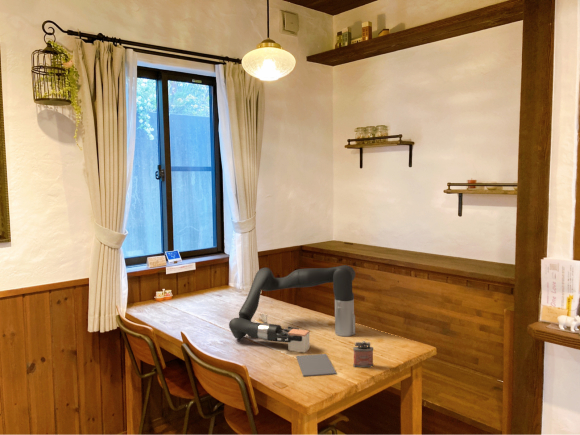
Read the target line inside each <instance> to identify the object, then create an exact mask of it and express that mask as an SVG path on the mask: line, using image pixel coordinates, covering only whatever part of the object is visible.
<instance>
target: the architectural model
mask: <svg viewBox="0 0 580 435" xmlns="http://www.w3.org/2000/svg"><path fill="white" fill-rule="evenodd" d="M260 317H261V318H260ZM260 317H258V319H255V320H254V321H255V323H267V324H268V314H265V313H264V312H261V313H260Z"/></svg>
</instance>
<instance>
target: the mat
mask: <svg viewBox="0 0 580 435" xmlns="http://www.w3.org/2000/svg"><path fill="white" fill-rule="evenodd" d="M295 357H296V360H297V363H298V365H299V368H300V370H301V373H302V377H316V376H326V375H327V376H329V375H337V372H336V370H335V367H334V366H333V364H332V362H331V360H330V359H329V357H328V355H327V353H319V354H318V353H317V354H306V355H304V354H303V355H296V356H295Z"/></svg>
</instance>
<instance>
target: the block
mask: <svg viewBox="0 0 580 435" xmlns="http://www.w3.org/2000/svg"><path fill="white" fill-rule="evenodd" d="M288 333H289V334H290V335H293V336H294V335H296V336H302V341H294V340H293V341H291V342H287V346H288V348H287V349H288V351H291V352H299V353H307V352H308V350H309V349H310V344H311V343H310V330H308V329H307V330H305V329H300V328H299V329H292V330H291V331H290V332H288Z"/></svg>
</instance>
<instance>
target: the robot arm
mask: <svg viewBox="0 0 580 435" xmlns="http://www.w3.org/2000/svg"><path fill="white" fill-rule="evenodd" d="M355 277H356V271H355V269H354V268H353V267H352V266H350V265H347V264H343V265H339V266H333V267H327V268H325V267H323V268H322V267H320V268H319V267H314V268H299V269H296V270H293V271H292V272H290V273H289V274H288V275H286V276H283V277H275V275H274V273H273V272H272V269H270V267H262V268H260V269H259V270H258V271H256V273H255V275H254V278H253V281H252V284H251V287H250V289H249V291H248V295H247V296H246V298H245V301H244V302H243V304H242V306H241V308H240V310H239V312H238V317H234V318H232V319H231V320H229V322H228V328H229V329H230V332H231V333H232V336H233V337H234V338H235V339H237V340H241V339H244V338H245V337H246V336H248V337H250V338H252V339H258V340H263V341H268V342H269V341H270V342H276V343H277V342H279V343H288V342H291V341H293V340H294V341H302V336H296V335H294V336H293V335H290V334H289V333H288V332H290V331H291V330H292V329H299V330H300V328H298V327H294V326H293V327H292V326H288V327H287V328H282V326H281V325H280V324H274V323H268V322H267V323H258V322H254V321H252V320H253V317H254V316H255V314H256V311H257V310H258V307H259V303H260V297H261V292H262V291H264V292H269V291H270V292H272V291H278V290H284V289H285V290H286V289H294V288H295V289H297V288H310V287H316V286H320V285H324V284H328V283H332V286H333V290H332V291H333V294H334V333H335V334H334V335H336V336H340V337H351V336H353V335H356V315H355V304H354V303H355V302H354V301H355V299H354V298H355V294H354V292H353V281H354V280H355Z"/></svg>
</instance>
